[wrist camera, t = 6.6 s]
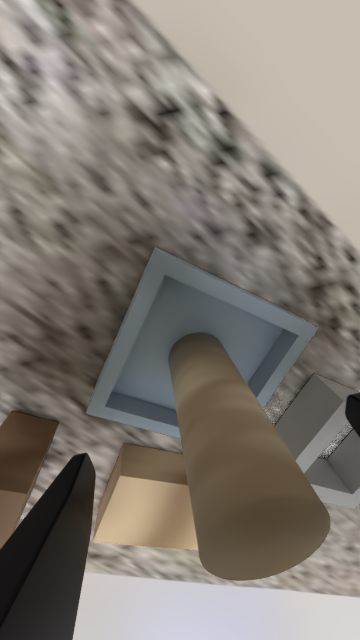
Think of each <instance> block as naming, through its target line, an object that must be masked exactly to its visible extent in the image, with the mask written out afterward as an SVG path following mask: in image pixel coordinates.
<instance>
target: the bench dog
mask: <svg viewBox="0 0 360 640" xmlns="http://www.w3.org/2000/svg"><path fill="white" fill-rule="evenodd" d="M58 424H59V422H55V421H51V420H47V419H43V418H39V417H35V416H31V415H27V414H23V413H19V412H15V411H12V412H11V413H10V414H9V416H8V417H7V419H6V420H5V421H4V423H3V424H2V426H1V427H0V549H1V547H2V546H3V545H4V544H5V542H6V541H7V540H8V538H9V537H10V536H11V535H12V533H13V532H14V531H15V529H16V527H17V524H18V522H19V520H20V517H21V515H22V513H23V510H24V508H25V506H26V503H27V501H28V499H29V497H30V494H31V492H32V490H33V487H34V484H35V482H36V479H37V477H38V474H39V472H40V469H41V467H42V464H43V462H44V459H45V457H46V454H47V452H48V449H49V447H50V444H51V442H52V439H53V436H54V434H55V431H56V429H57V426H58Z"/></svg>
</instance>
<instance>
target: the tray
mask: <svg viewBox="0 0 360 640" xmlns="http://www.w3.org/2000/svg"><path fill="white" fill-rule="evenodd" d="M318 329H319V328H317V327H316V326H314V325H313V324H311V323H309V322H308V321H306V320H304V319H303V318H301V317H300V316H298V315H296V314H294V313H292V312H290V311H288V310H286V309H284V308H282V307H280V306H277V305H275V304H273V303H271V302H269V301H267V300H265V299H263V298H261V297H259V296H257V295H255V294H253V293H250V292H248V291H246V290H244V289H242V288H240V287H238V286H236V285H234V284H232V283H230V282H228V281H226V280H223V279H221V278H219V277H217V276H215V275H213V274H211V273H209V272H207V271H205V270H203V269H201V268H199V267H196V266H194V265H192V264H190V263H188V262H186V261H184V260H182V259H180V258H178V257H176V256H174V255H172V254H169V253H167V252H165V251H163V250H161V249H159V248H157V247H154V249H153V252H152V254H151V256H150V259H149V261H148V263H147V266H146V268H145V270H144V273H143V275H142V277H141V280H140V282H139V284H138V287H137V289H136V291H135V294H134V296H133V298H132V301H131V303H130V305H129V308H128V310H127V312H126V315H125V317H124V319H123V322H122V324H121V326H120V329H119V331H118V333H117V336H116V338H115V341H114V343H113V345H112V348H111V350H110V352H109V355H108V357H107V359H106V362H105V364H104V366H103V369H102V371H101V373H100V376H99V378H98V380H97V383H96V385H95V387H94V390H93V392H92V396H91V399H90V402H89V405H88V408H87V411H86V414H89V415H93V416H97V417H100V418H104V419H108V420H112V421H115V422H119V423H123V424H127V425H130V426H134V427H138V428H142V429H145V430H149V431H153V432H157V433H160V434H164V435H168V436H172V437H175V438H179V439H181V437H180V431H179V425H178V419H177V412H176V406H175V400H174V393H173V387H172V381H171V374H170V368H169V361H168V360H169V353H170V351H171V348H172V347H173V345H174V344H175V343H176V342H177V341H178V340H179V339H180V338H182V337H184V336H185V335H188V334H191V333H196V332H202V333H208V334H211V335H213V336H214V337H216V338H217V339H218V340H219V341H220V342H221V343H222V345H223V347H224V348H225V350H226V351H227V353H228V354H229V356H230V358H231V359H232V361H233V362H234V364H235V366H236V367H237V369H238V370H239V372H240V373H241V375H242V377H243V378H244V380H245V381H246V383H247V384H248V386H249V388H250V389H251V391H252V392H253V394H254V396H255V397H256V399H257V400H258V402H259V403H260V405H261V407H262V408H263V407H264V406H265V404H266V403H267V401H268V400H269V398H270V397H271V396H272V394H273V393H274V391H275V390H276V388H277V387H278V386H279V384H280V383H281V381H282V380H283V378H284V377H285V376H286V374H287V373H288V371H289V370H290V369H291V367H292V366H293V364H294V363H295V361H296V360H297V359H298V357H299V356H300V354H301V353H302V351H303V350H304V349H305V347H306V346H307V344H308V343H309V341H310V340H311V339H312V337H313V336H314V334H315V333H316V331H317V330H318Z"/></svg>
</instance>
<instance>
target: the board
mask: <svg viewBox="0 0 360 640" xmlns="http://www.w3.org/2000/svg"><path fill="white" fill-rule="evenodd" d="M93 542H97V543H110V544H123V545H136V546H149V547H162V548H175V549H189V550H198V544H197V538H196V532H195V525H194V519H193V513H192V507H191V500H190V494H189V488H188V481H187V475H186V469H185V463H184V456H183V454H181V453H175V452H170V451H164V450H159V449H153V448H147V447H142V446H136V445H131V444H125V443H124V444H123V446H122V449H121V451H120V454H119V456H118V459H117V461H116V464H115V466H114V469H113V471H112V474H111V476H110V479H109V481H108V484H107V486H106V489H105V491H104V494H103V496H102V499H101V501H100V504H99V507H98V513H97V519H96V524H95V530H94V536H93Z"/></svg>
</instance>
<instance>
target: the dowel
mask: <svg viewBox="0 0 360 640" xmlns="http://www.w3.org/2000/svg"><path fill="white" fill-rule="evenodd" d="M168 361H169V368H170V374H171V381H172V387H173V393H174V400H175V406H176V412H177V419H178V425H179V431H180V437H181V444H182V450H183V456H184V463H185V469H186V475H187V481H188V488H189V494H190V500H191V507H192V513H193V519H194V525H195V532H196V538H197V544H198V551H199V557H200V561H201V563H202V565H203V566H204V568H205V569H206V570H207V571H208V572H210V573H211V574H213V575H215V576H217V577H220V578H223V579H228V580H237V581H245V580H255V579H261V578H265V577H269V576H272V575H276V574H278V573H281V572H283V571H286V570H288V569H290V568H292V567H294V566H296V565H297V564H299V563H301V562H302V561H304V560H305V559H306V558H308V557H309V556H310V555H312V554H313V553H314V552H315V551H316V550H317V549H318V548H319V547H320V545H321V544H322V543H323V542H324V540H325V538H326V537H327V534H328V532H329V529H330V516H329V513H328V511H327V509H326V508H325V506H324V505H323V503H322V501H321V500H320V498H319V497H318V495H317V494H316V492H315V490H314V489H313V487H312V486H311V484H310V482H309V481H308V479H307V478H306V476H305V475H304V473H303V471H302V470H301V468H300V467H299V465H298V464H297V462H296V460H295V459H294V457H293V456H292V454H291V452H290V451H289V449H288V448H287V446H286V445H285V443H284V441H283V440H282V438H281V437H280V435H279V433H278V432H277V430H276V429H275V427H274V426H273V424H272V422H271V421H270V419H269V418H268V416H267V415H266V413H265V411H264V410H263V408H262V407H261V405H260V403H259V402H258V400H257V399H256V397H255V396H254V394H253V392H252V391H251V389H250V388H249V386H248V384H247V383H246V381H245V380H244V378H243V377H242V375H241V373H240V372H239V370H238V369H237V367H236V366H235V364H234V362H233V361H232V359H231V358H230V356H229V354H228V353H227V351H226V350H225V348H224V347H223V345H222V343H221V342H220V341H219V340H218V339H217V338H216V337H214V336H213V335H211V334H208V333H202V332H196V333H191V334H188V335H185V336H184V337H182V338H180V339H179V340H178V341H177V342H176V343H175V344H174V345H173V347H172V348H171V351H170V353H169V360H168Z"/></svg>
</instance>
